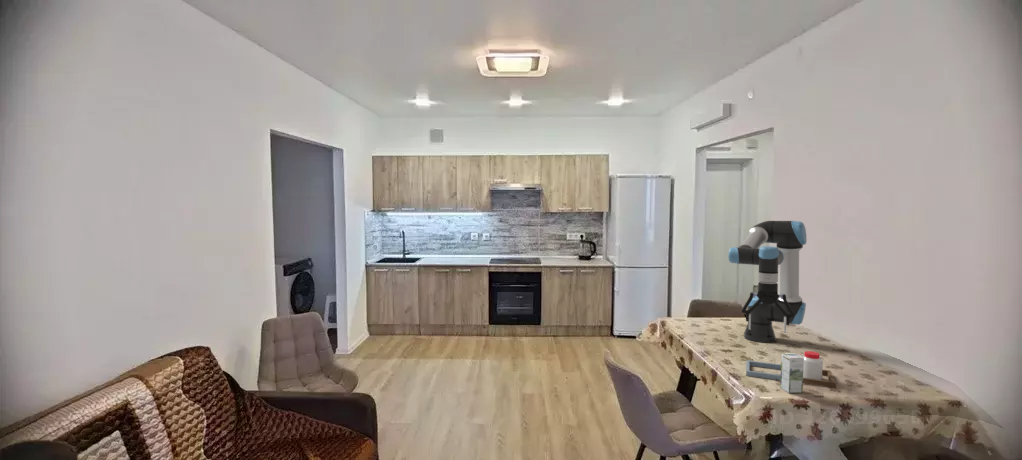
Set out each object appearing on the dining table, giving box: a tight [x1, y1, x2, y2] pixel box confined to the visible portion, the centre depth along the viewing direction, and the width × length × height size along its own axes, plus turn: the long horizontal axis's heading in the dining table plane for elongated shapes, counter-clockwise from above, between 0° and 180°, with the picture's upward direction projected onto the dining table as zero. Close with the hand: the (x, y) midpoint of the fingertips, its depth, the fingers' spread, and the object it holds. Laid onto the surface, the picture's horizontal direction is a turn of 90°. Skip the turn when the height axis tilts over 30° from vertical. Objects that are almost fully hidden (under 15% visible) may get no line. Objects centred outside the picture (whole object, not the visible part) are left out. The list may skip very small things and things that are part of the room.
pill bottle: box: [801, 350, 824, 380], centre depth 203 cm, size 8×8×11 cm
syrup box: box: [779, 352, 804, 394], centre depth 191 cm, size 6×6×14 cm
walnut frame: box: [803, 369, 837, 389], centre depth 204 cm, size 15×15×2 cm
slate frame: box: [745, 359, 781, 381], centre depth 211 cm, size 15×15×2 cm
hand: (766, 330), depth 210 cm, fingers open, 13 cm apart
